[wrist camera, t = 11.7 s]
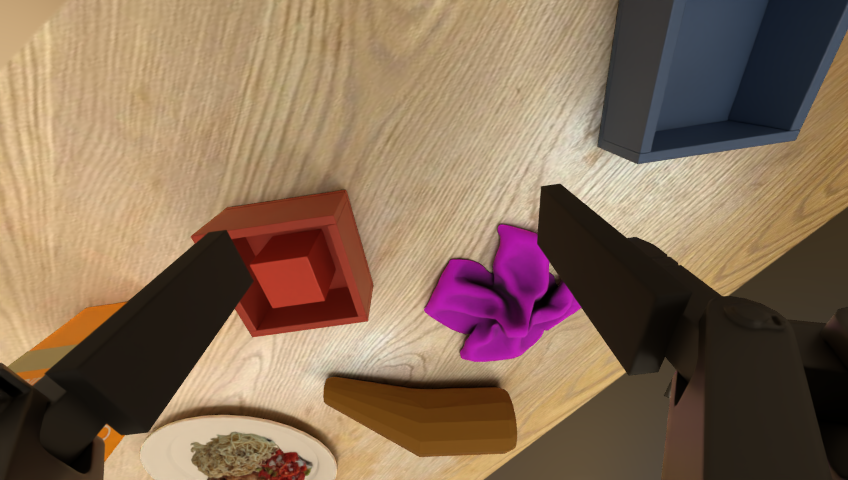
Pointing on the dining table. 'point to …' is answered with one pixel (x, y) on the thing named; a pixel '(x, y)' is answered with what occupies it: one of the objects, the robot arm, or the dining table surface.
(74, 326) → the orange juice
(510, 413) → the horn
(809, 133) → the dining table surface
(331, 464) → the plated food
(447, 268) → the cloth
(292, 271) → the red block
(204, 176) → the dining table surface
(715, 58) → the blue bin
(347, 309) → the red bin
